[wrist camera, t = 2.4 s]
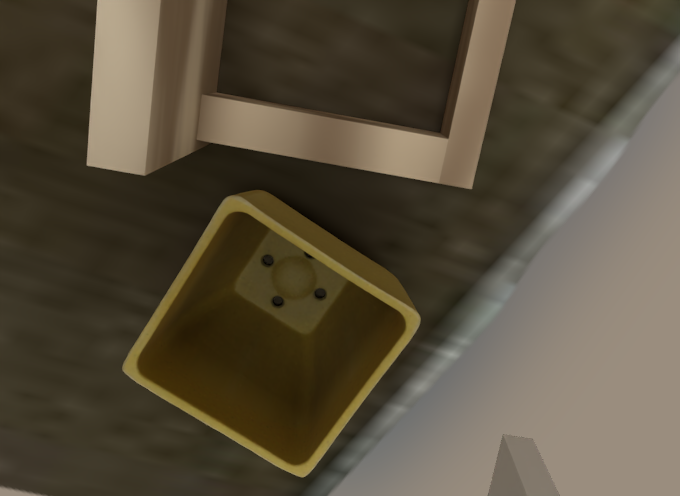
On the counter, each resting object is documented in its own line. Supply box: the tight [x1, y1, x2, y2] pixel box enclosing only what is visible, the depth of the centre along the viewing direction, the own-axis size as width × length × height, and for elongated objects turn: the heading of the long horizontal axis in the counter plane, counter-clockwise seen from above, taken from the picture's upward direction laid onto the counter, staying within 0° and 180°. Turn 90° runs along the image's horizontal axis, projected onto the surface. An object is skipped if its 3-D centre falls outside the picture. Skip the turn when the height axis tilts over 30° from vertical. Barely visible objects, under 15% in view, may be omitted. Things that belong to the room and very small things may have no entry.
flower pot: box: [122, 190, 421, 477], centre depth 29 cm, size 9×9×9 cm
